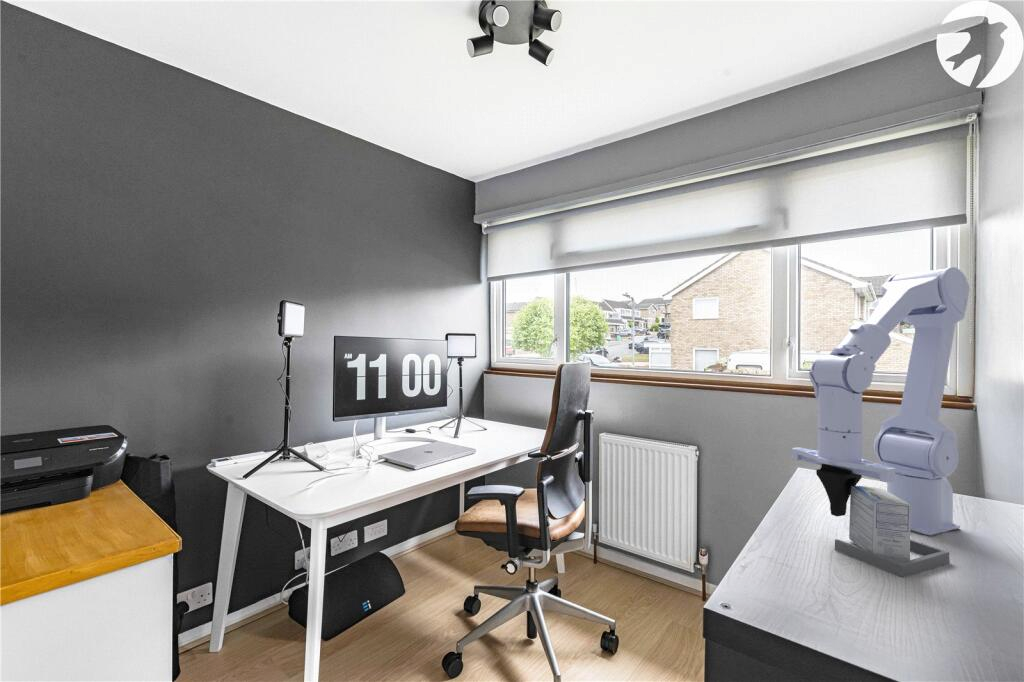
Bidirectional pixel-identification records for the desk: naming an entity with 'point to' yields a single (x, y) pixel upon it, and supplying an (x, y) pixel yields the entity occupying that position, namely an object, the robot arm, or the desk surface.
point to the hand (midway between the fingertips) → (838, 515)
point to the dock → (928, 561)
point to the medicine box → (880, 522)
